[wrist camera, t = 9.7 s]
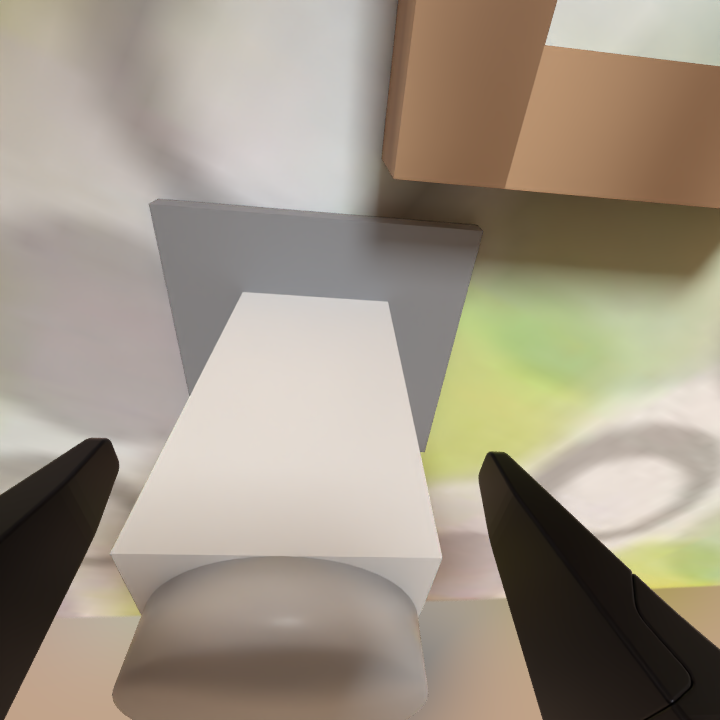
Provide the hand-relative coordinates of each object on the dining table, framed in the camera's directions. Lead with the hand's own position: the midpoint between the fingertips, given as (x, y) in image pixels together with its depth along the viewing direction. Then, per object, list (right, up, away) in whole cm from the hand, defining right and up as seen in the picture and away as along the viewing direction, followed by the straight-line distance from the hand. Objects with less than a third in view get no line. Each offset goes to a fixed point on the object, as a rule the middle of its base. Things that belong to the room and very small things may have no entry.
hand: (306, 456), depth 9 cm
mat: (0, +3, +4) cm, 5 cm away
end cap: (0, +2, +4) cm, 4 cm away
